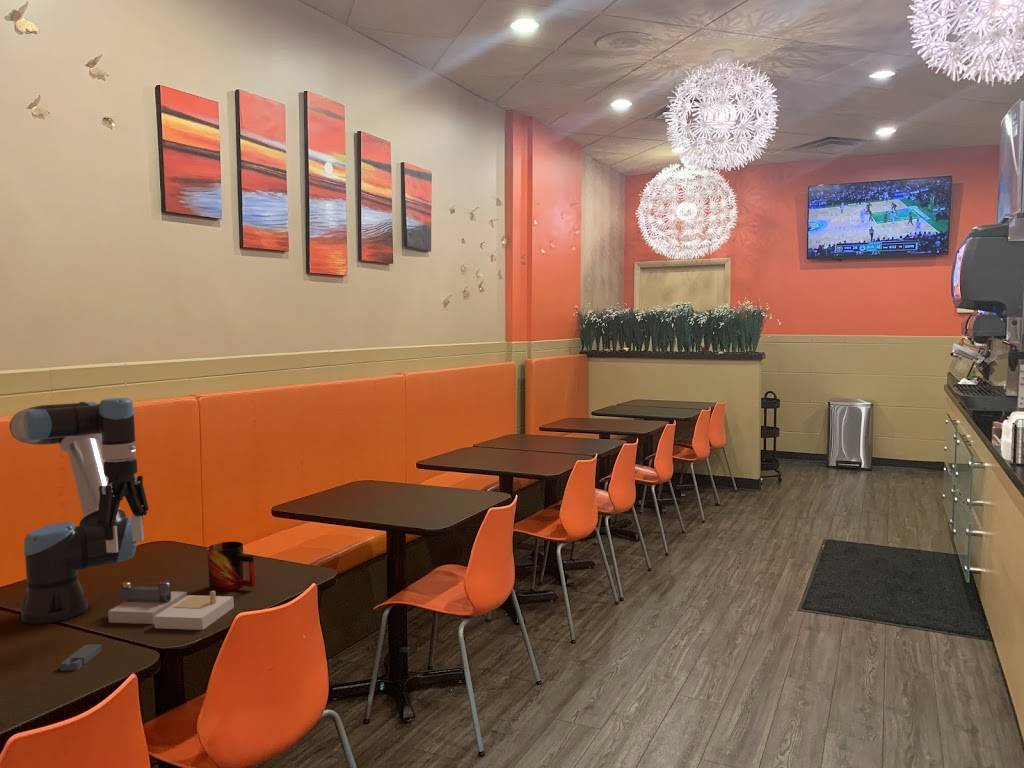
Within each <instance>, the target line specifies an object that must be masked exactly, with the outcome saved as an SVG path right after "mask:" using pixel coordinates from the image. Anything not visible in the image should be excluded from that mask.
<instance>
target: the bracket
mask: <svg viewBox="0 0 1024 768" xmlns="http://www.w3.org/2000/svg"><path fill="white" fill-rule="evenodd" d="M102 647H103V646H102V644H98V643H97V644H95V643H94V644H85V645H82V646H81V647H80V648H79V649H78V650H77V651H74V652H73V653H72V654H71V655H70V656H69V657H67V658H66V659H64V660H63V661H62V662H61V663H59V670H60V671H78V670H79V669H81V668H82V667H83V666H84V665H86V664H87V663H88V662H89V661H91V660H92V659H93V658H95V657H96V656H97V655H98V654H99V653H101V652H102V651H103V648H102Z"/></svg>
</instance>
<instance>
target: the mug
mask: <svg viewBox="0 0 1024 768" xmlns="http://www.w3.org/2000/svg"><path fill="white" fill-rule="evenodd" d="M206 549H207V551H206V553H207V565H208V566H207V569H208V583H209V585H208V586H209V592H211V591H215V593H218V594H220V593H221V594H222V593H229V592H235V591H238V590H240V588H241V589H242V587H243V588H244V587H250V588H254V587H256V577H255V576H256V575H255V564H254V562H255V561H254V560H255V559H254V555H249V554H244V543H242V542H241V541H223V542H217V543H214V544H210V545H209V546H207V548H206ZM244 562H246V563H248V572H249V573H248V574H249V575H248V576H249V579H245V576H246V575H245V563H244Z"/></svg>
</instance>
